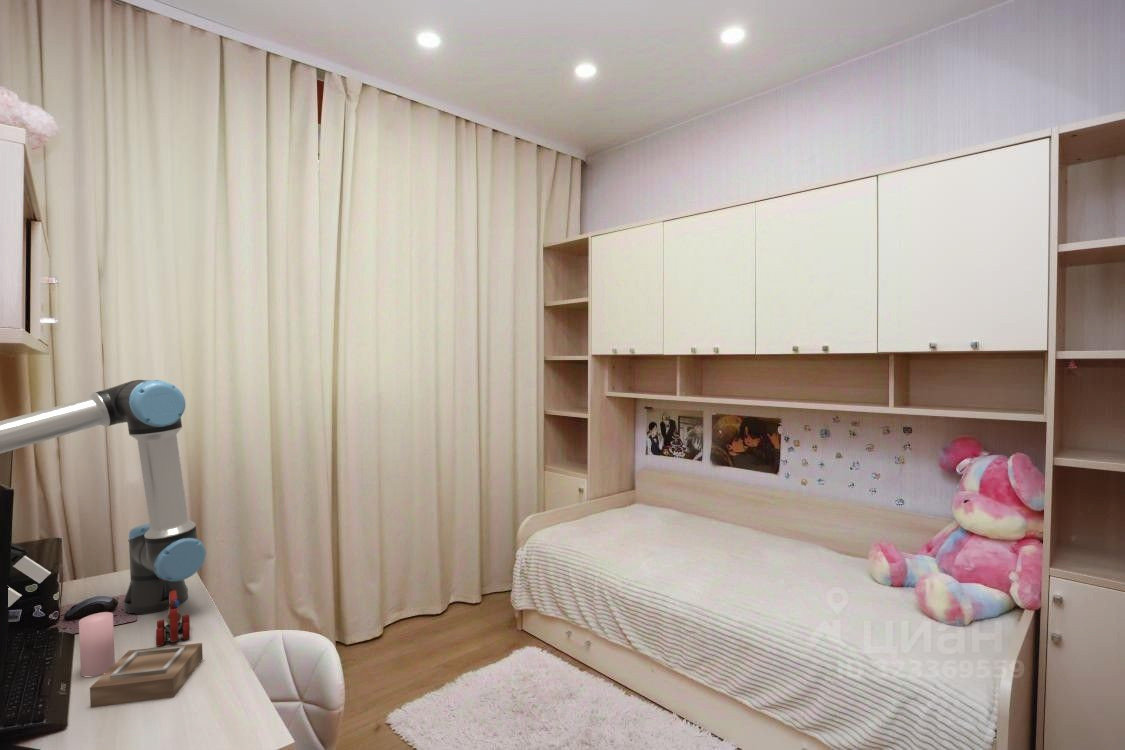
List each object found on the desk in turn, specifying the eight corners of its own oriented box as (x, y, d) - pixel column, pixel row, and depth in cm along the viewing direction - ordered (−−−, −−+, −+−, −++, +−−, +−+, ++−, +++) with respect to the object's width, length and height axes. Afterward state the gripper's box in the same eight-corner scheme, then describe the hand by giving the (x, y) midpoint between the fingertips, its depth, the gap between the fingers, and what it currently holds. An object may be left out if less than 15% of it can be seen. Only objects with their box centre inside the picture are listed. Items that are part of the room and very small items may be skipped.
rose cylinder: (90, 664, 132) (88, 613, 132) (120, 661, 133) (118, 610, 133) (74, 679, 126) (72, 625, 126) (105, 675, 127) (103, 622, 127)
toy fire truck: (156, 652, 138) (154, 609, 137) (157, 632, 148) (156, 592, 147) (190, 644, 141) (189, 602, 141) (189, 624, 152) (188, 585, 151)
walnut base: (129, 667, 131) (128, 646, 131) (202, 659, 134) (202, 639, 134) (90, 707, 116) (89, 683, 116) (173, 697, 119) (172, 674, 119)
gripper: (-44, 526, 129) (42, 582, 135) (-125, 562, 106) (-17, 628, 112) (-14, 500, 131) (70, 557, 137) (-87, 530, 108) (17, 597, 114)
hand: (31, 589), depth 125 cm, fingers open, 13 cm apart
